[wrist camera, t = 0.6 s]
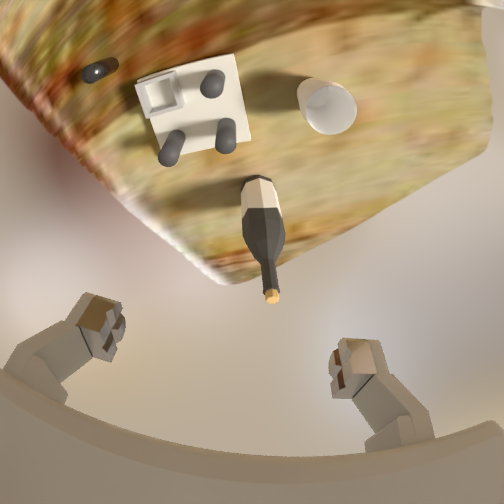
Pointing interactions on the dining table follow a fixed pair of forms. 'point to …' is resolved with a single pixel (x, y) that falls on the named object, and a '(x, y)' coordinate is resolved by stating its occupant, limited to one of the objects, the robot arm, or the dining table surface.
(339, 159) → the dining table surface
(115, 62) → the dark rounded cylinder
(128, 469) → the robot arm
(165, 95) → the white board with pegs
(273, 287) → the wine bottle
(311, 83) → the cup
